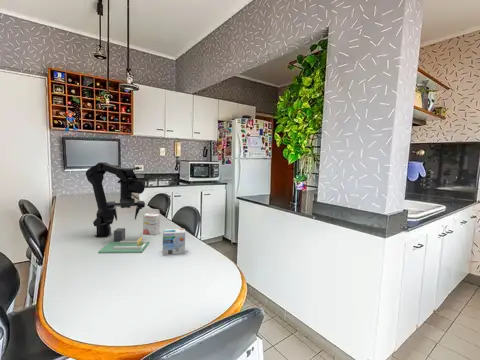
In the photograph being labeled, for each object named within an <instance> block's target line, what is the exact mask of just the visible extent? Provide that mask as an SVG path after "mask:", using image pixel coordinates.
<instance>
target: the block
mask: <svg viewBox="0 0 480 360" xmlns="http://www.w3.org/2000/svg"><path fill="white" fill-rule="evenodd" d="M125 240H126V228H125V227H122V228H120V227H118V228H115V230H113V242H120V241H125Z"/></svg>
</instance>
